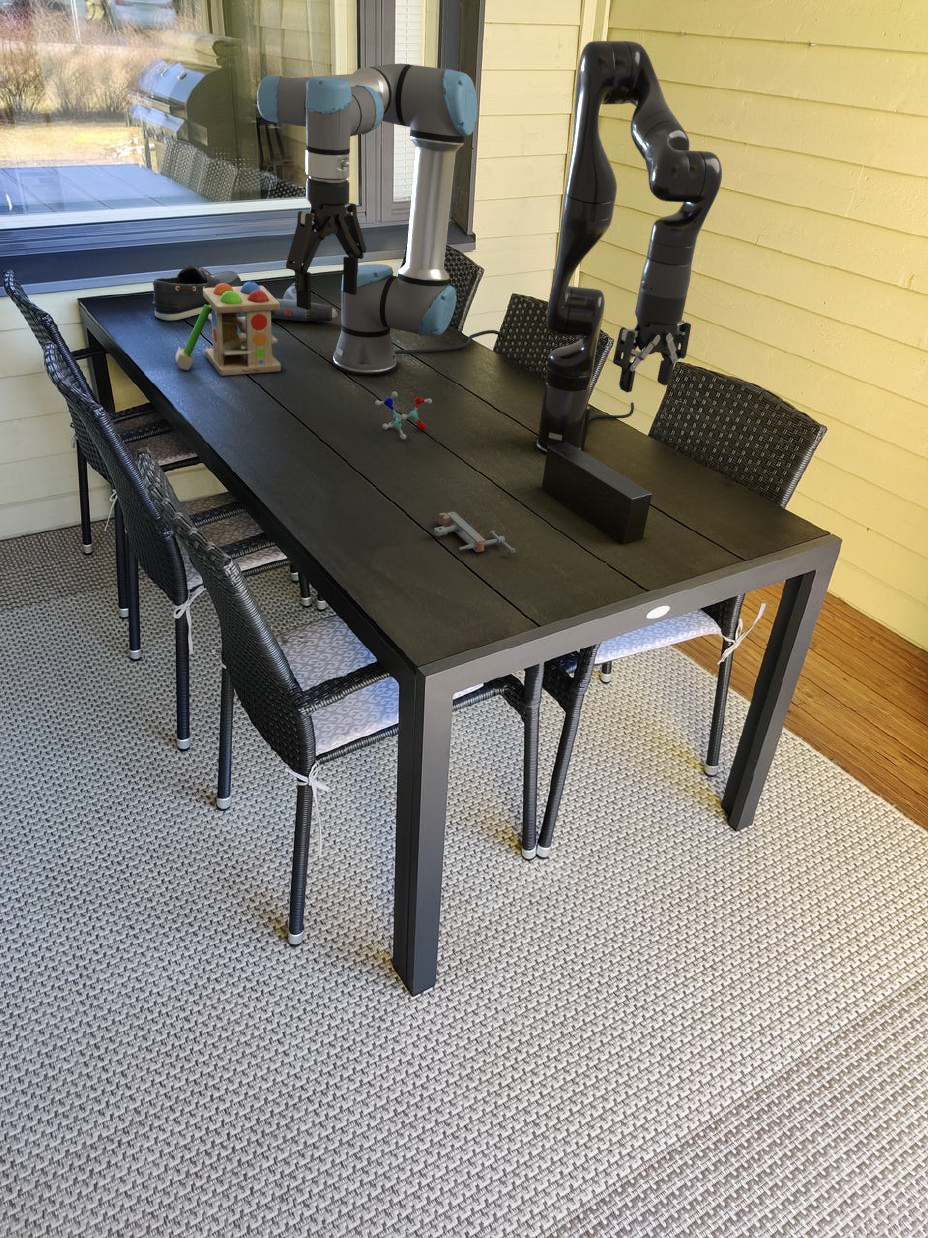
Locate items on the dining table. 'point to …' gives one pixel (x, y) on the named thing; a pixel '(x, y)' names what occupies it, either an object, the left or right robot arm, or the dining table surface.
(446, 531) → the clamp
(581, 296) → the right robot arm
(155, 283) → the boat shoe
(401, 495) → the dining table surface
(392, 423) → the molecular model
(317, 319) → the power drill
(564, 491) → the bar
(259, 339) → the pounding bench toy
